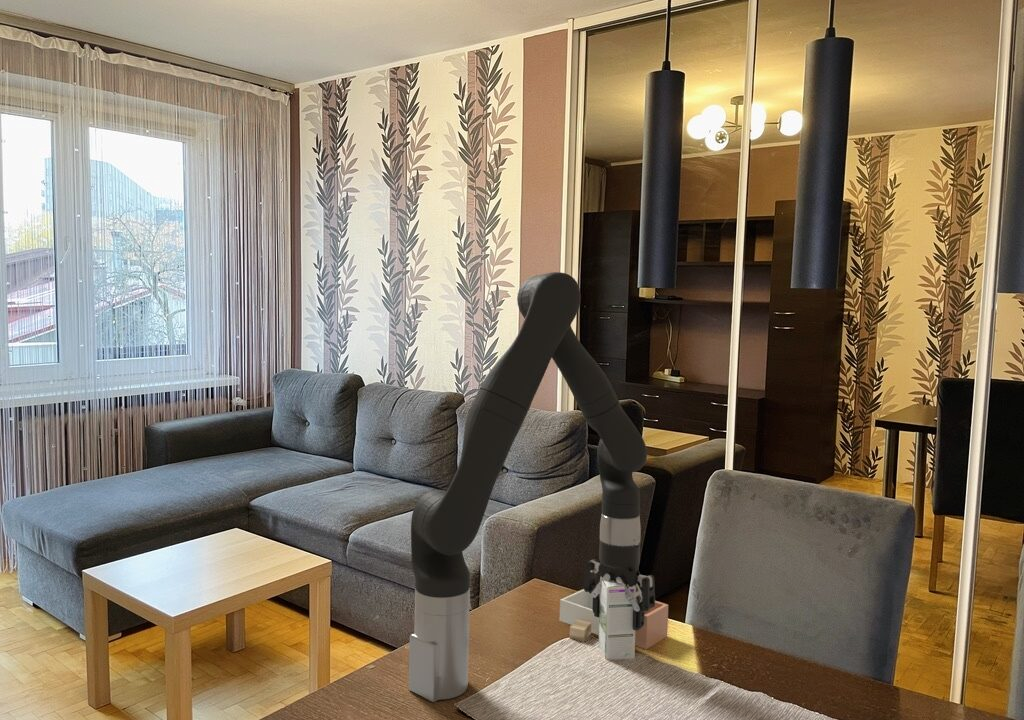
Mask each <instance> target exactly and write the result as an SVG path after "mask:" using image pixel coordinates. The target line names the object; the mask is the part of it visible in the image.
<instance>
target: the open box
mask: <svg viewBox="0 0 1024 720" xmlns="http://www.w3.org/2000/svg"><path fill="white" fill-rule="evenodd" d="M668 619H669V604H667V603H665V602H661V601H657V600H655V607H653V608H651V609H649V610H648V611H645V618H644V626H643V627H642V628H641V629H639V630H638V631H636V630H635V647H638V648H640V649H643V650H648V649H649V648H651V647H653V646H654V645H656V644H658V643H659V642H661V641H663V640H665V638H667V637H668V629H669V627H668V626H669V625H668V624H669V620H668Z"/></svg>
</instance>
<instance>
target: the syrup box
mask: <svg viewBox="0 0 1024 720" xmlns="http://www.w3.org/2000/svg"><path fill="white" fill-rule="evenodd" d="M601 580H602V577H601V575H600V577H599V582H600V581H601ZM627 586H628V587H629V585H627ZM629 589H630V591H631V593H636V585H635V584H634V586H632V587H629ZM633 611H634V608H633V606H632V604H631V602H630V601H628V600H627V598H626V596H625V587H624V585H620V584H618V583H617V581H612V580H610V581H608V582H607V581H605V580H604V581H602V590H601V592H600V608H599V635H598V649H599V650H600V652H601V654H602V655H603V657H604V659H605V660H606V661H609V660H633V659H635V656H636V655H635V653H636V652H635V651H636V646H635V630H633Z"/></svg>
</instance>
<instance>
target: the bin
mask: <svg viewBox="0 0 1024 720" xmlns="http://www.w3.org/2000/svg"><path fill="white" fill-rule="evenodd" d="M592 608H593V597H592V595H591V594H590V593H589V592H585V591H584V588H583V589H580V590H578V591H576V592H575V593H572V594H570V595H568V596H566V597H565V596H564V597H563V598H561V599H559V618H558V619H559V622H562V623H563V624H564V623H565V624H568V625H570V626H571V625H572V624H573V623H574V622H575V621H576V620H581V621H585V622H590V623H591V634H595V635H598V636H599V617H595V616H594V613H593V610H592Z"/></svg>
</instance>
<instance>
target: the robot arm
mask: <svg viewBox="0 0 1024 720" xmlns="http://www.w3.org/2000/svg"><path fill="white" fill-rule="evenodd" d="M516 301H517V306H518V311H519V312H520V314H521V316H522V318H524V320H523V323H522V325H521V327H520V329H519V331H518V333H517V336H516V337H515V339H514V340H513V342H512V343H511V345H510V346H509V347H508V348H507V350H506V351H505V352H504V354H503V355H502V356H501V357H500V358H499V360H498V361H496V363H495V364H494V365H493V367H492V368H491V369H490V371H489V372H488V373H487V375H486V376H485V378H484V380H483V381H482V382H481V384H480V386H479V389H478V391H477V392H476V394H475V397H474V399H473V401H472V404H471V405H470V408H469V411H468V412H467V416H466V420H465V423H464V431H463V440H462V448H461V449H462V450H461V456H460V460H459V464H458V466H457V469H456V471H455V474H454V476H453V478H452V480H451V482H450V483H449V485H448V488H447V490H444V489H434V490H430V491H428V492H426V493H425V494H423V495H422V496H420V498H419V499H418V500H417V502H416V503H415V505H414V507H413V509H412V514H411V522H410V523H411V524H410V545H411V546H410V551H411V555H410V557H411V567H412V569H411V570H412V572H413V576H414V625H413V626H414V627H413V628H414V630H413V633H412V634H411V633H410V635H409V653H408V655H409V656H408V657H409V658H408V666H409V667H408V670H409V671H408V690H409V691H411V692H413V693H414V694H417V695H419V696H420V697H422V698H424V699H426V700H428V701H429V702H432V703H435V702H437V701H441V700H450V699H454V698H457V697H459V696H461V695H463V694H464V693H466V691H467V689H468V685H469V683H468V682H469V647H470V646H469V645H470V644H469V641H470V639H469V638H470V601H471V600H470V599H471V598H470V597H471V596H470V595H471V594H470V593H471V592H470V591H471V573H470V570H469V568H468V565H467V564H466V561H465V558H464V553H463V552H464V551H465V550H466V549H468V548H469V547H470V545H471V544H472V543H473V542H474V540H475V538H476V537H477V535H478V532H479V531H480V527H481V526H482V525H481V524H482V522H483V519H484V516H485V514H486V510H487V508H488V505H489V501H490V498H491V495H492V492H493V489H494V487H495V484H496V482H497V480H498V477H499V475H500V473H501V470H502V468H503V466H504V464H505V462H506V460H507V459H508V455H509V452H510V451H511V448H512V446H513V444H514V441H515V439H516V438H517V435H518V433H519V432H520V430H521V427H522V425H523V423H524V421H525V419H526V417H527V415H528V412H529V410H530V408H531V406H532V403H533V400H534V398H535V396H536V394H537V391H538V389H539V388H540V385H541V383H542V381H543V379H544V375H545V373H546V371H547V369H548V366H549V364H550V362H551V359H552V360H553V362H554V364H555V365H556V367H557V368H558V370H559V372H560V374H561V375H562V377H563V379H564V380H565V383H566V384H567V387H568V388H569V390H570V391H571V393H572V396H573V398H574V400H575V402H576V404H577V406H578V408H579V410H580V412H581V414H582V416H583V418H584V420H585V421H586V423H587V425H588V426H589V427H590V428H591V429H593V430H594V431H595V432H596V433H597V435H598V436H599V438H600V439H599V442H598V445H597V451H596V452H597V454H596V456H597V466H598V472H599V473H598V474H599V479H600V484H601V488H602V490H601V491H602V493H601V517H600V522H599V546H598V547H599V550H598V553H599V554H598V559H599V561H598V560H597V559H596V558H593V559H591V560H588V561H587V562H585V565H584V579H583V580H584V581H583V589H584V591H585V592H589V593H590V594H591V595H592V597H593V608H592V610H593V613H594V616H595V617H599V608H600V592H601V590H602V581H604V580H605V581H607V582H608V581H610V580H612V581H617V583H618V584H620V585H624V587H625V596H626V598H627V600H628V601H630V602H631V604H632V606H633V608H634V611H633V630H636V631H638V630H639V629H641V628H642V627H643V626H644V618H645V611H648V610H649V609H651V608H653V607H655V601H656V593H655V592H656V591H655V590H656V589H655V587H656V583H655V582H656V580H655V576H654V575H653V574H649V575H643V574H641V573H640V570H639V566H640V563H641V558H640V557H641V539H642V536H641V533H642V532H641V527H642V526H641V519H640V518H641V517H640V516H641V515H640V514H641V513H640V511H641V510H640V509H641V492H640V487H639V486H638V485H637V483H636V482H635V481H634V478H633V473H636V472H638V471H640V470H642V468H644V466H645V464H646V462H647V459H648V450H647V445H646V442H645V441H644V440H645V439H644V438H643V436H642V435H641V433H640V431H639V430H638V429H637V427H636V425H635V424H634V423H633V421H632V420H631V419H630V417H629V416H628V415H627V413H626V412H625V411H624V409H623V407H622V405H621V403H620V400H619V399H618V396H617V394H616V392H615V390H614V388H613V385H612V384H611V382H610V380H609V377H607V375H606V373H605V372H604V371H603V369H602V368H601V367H600V365H599V364H598V363H597V361H596V360H595V359H594V358H593V357H592V356H591V355H590V353H589V352H588V351H587V349H586V348H585V347H584V346H583V344H582V343H581V341H580V340H579V338H578V337H577V336H576V333H575V331H574V329H573V328H572V326H571V325H572V323H573V322H574V320H575V318H576V316H577V314H578V312H579V309H580V306H581V302H582V295H581V289H580V286H579V284H578V281H577V280H576V279H575V278H574V277H573V276H571V275H570V274H568V273H565V272H558V271H557V272H556V271H555V272H553V271H552V272H547V273H543V274H538V275H534V276H532V277H530V278H527V279H526V280H525V281H524V282H523V283H522V284H521V285H520V287H519V289H518V292H517V299H516ZM598 572H599V575H600V576H601V577H602V580H601V581H600V580H599V582H598V583H597V579H598ZM638 583H639V584H638ZM634 584H635V585H636V593H631V591H630V589H629V587H632V586H634ZM627 585H629V587H628V586H627Z"/></svg>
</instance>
